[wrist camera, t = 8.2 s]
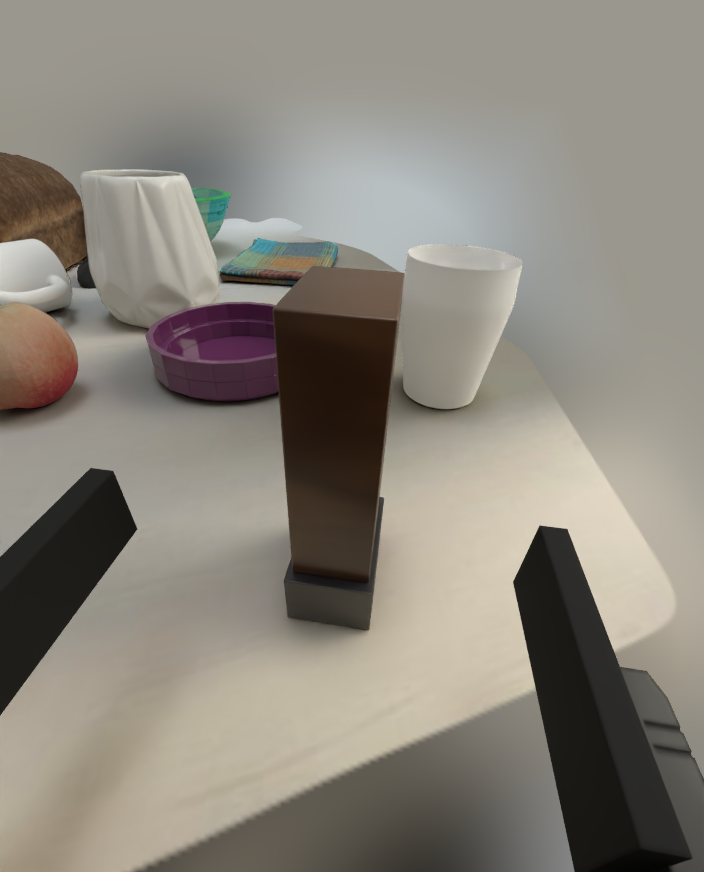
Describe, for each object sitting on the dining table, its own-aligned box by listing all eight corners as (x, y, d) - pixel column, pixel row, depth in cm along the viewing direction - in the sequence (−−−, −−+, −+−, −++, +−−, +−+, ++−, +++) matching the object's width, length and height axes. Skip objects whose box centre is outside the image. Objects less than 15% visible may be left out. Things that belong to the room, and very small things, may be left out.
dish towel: (339, 255, 82) (339, 241, 80) (326, 289, 63) (326, 271, 61) (255, 250, 82) (254, 236, 81) (217, 282, 63) (214, 265, 62)
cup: (439, 362, 43) (461, 240, 36) (507, 400, 37) (550, 263, 30) (371, 383, 39) (382, 249, 32) (436, 429, 33) (467, 277, 26)
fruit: (29, 374, 37) (-14, 287, 33) (109, 384, 37) (77, 295, 32) (-52, 422, 31) (-120, 321, 26) (42, 434, 30) (-9, 333, 26)
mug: (-45, 322, 47) (-86, 247, 42) (44, 299, 54) (17, 234, 49) (14, 346, 42) (-25, 266, 38) (102, 318, 49) (79, 248, 45)
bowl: (226, 267, 70) (217, 202, 65) (93, 264, 69) (71, 196, 63) (244, 241, 88) (239, 188, 83) (139, 238, 87) (125, 184, 81)
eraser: (379, 533, 24) (412, 269, 15) (368, 630, 19) (407, 327, 10) (314, 524, 24) (308, 261, 15) (287, 617, 20) (256, 313, 11)
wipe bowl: (326, 343, 46) (327, 308, 44) (292, 414, 34) (289, 372, 32) (200, 331, 47) (193, 296, 45) (123, 395, 35) (109, 353, 33)
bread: (-101, 303, 51) (-197, 148, 41) (23, 248, 76) (-19, 144, 67) (28, 301, 53) (-36, 155, 44) (106, 248, 78) (77, 148, 69)
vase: (245, 306, 55) (230, 174, 46) (173, 343, 44) (135, 181, 35) (163, 290, 59) (134, 166, 50) (78, 322, 48) (21, 170, 39)
